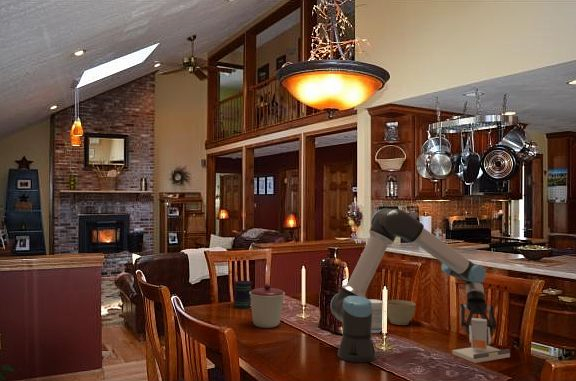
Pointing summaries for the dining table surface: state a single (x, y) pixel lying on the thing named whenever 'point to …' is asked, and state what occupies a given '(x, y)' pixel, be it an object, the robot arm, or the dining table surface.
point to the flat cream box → (481, 354)
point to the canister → (266, 306)
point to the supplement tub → (376, 316)
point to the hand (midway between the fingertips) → (480, 341)
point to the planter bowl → (400, 311)
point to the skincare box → (479, 333)
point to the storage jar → (242, 295)
